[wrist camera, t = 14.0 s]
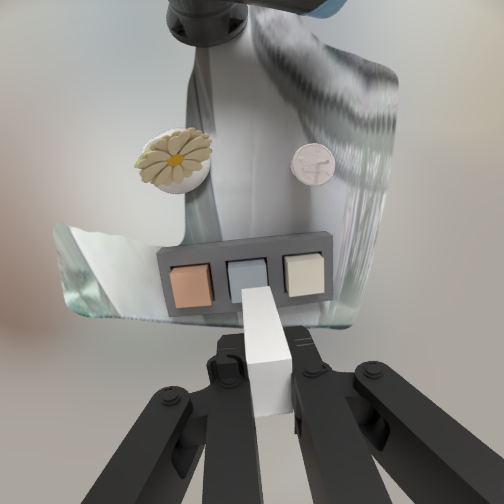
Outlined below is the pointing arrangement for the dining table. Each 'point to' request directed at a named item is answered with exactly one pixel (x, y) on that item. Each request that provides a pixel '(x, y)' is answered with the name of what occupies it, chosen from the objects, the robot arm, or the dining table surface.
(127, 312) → the dining table surface
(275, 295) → the console
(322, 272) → the key cream
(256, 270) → the key slate
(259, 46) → the dining table surface
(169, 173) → the flower in vase
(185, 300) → the key terracotta
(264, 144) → the dining table surface
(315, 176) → the smoothie
